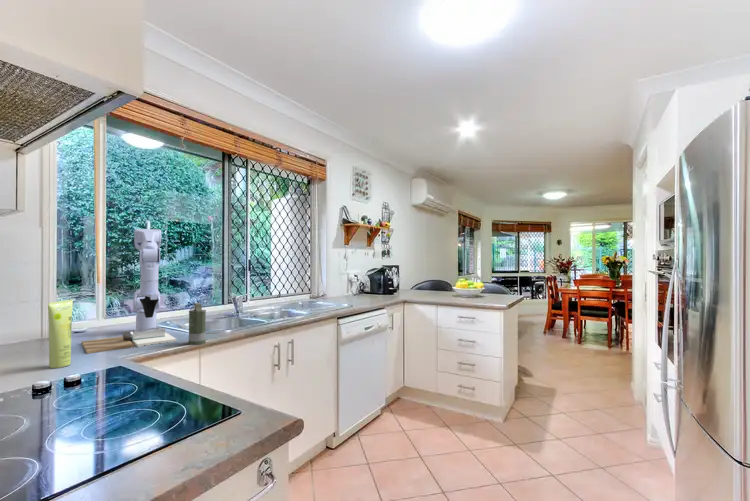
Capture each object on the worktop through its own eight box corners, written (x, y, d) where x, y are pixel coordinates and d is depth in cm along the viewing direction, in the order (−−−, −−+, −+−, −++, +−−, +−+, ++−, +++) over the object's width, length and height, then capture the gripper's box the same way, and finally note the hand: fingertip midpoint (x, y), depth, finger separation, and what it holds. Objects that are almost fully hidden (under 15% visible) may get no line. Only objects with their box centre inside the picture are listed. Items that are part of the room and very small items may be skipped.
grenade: (186, 342, 142) (187, 303, 142) (203, 340, 146) (204, 301, 146) (190, 345, 137) (190, 304, 137) (207, 343, 141) (208, 303, 141)
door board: (127, 338, 148) (127, 329, 148) (164, 333, 157) (164, 325, 157) (137, 346, 135) (137, 337, 135) (176, 341, 144) (176, 332, 144)
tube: (69, 367, 110) (70, 301, 111) (46, 370, 108) (47, 302, 108) (71, 362, 115) (72, 299, 115) (50, 365, 112) (51, 300, 112)
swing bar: (123, 340, 139) (123, 332, 139) (122, 338, 142) (122, 331, 142) (165, 335, 148) (165, 328, 148) (163, 334, 151) (163, 327, 151)
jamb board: (81, 343, 139) (81, 340, 139) (127, 338, 148) (127, 335, 148) (86, 353, 125) (86, 350, 125) (136, 346, 135) (136, 343, 135)
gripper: (133, 280, 142) (132, 315, 142) (141, 282, 131) (140, 321, 131) (154, 279, 147) (153, 314, 147) (163, 281, 136) (163, 319, 136)
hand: (148, 317), depth 139 cm, fingers closed
